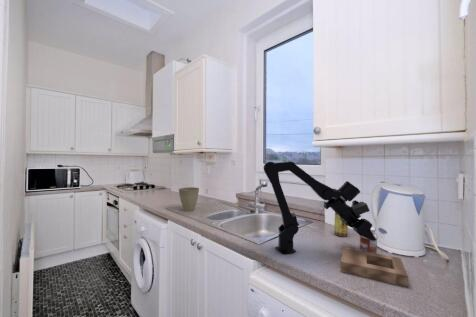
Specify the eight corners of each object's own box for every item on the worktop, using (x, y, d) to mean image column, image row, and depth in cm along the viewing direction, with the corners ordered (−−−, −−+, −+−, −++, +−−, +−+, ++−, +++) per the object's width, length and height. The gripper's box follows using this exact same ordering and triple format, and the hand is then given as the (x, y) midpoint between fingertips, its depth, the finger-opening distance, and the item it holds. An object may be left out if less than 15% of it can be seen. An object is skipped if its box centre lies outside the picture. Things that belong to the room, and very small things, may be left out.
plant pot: (186, 206, 174) (186, 186, 173) (202, 208, 168) (202, 188, 168) (174, 211, 160) (174, 189, 160) (191, 213, 154) (191, 190, 154)
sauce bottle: (343, 238, 110) (344, 198, 109) (331, 234, 115) (332, 196, 114) (350, 235, 113) (350, 197, 113) (338, 231, 119) (339, 195, 118)
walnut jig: (340, 271, 78) (340, 261, 78) (343, 255, 90) (343, 247, 90) (407, 287, 68) (407, 276, 68) (400, 267, 81) (400, 258, 81)
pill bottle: (356, 251, 94) (356, 225, 94) (369, 250, 95) (370, 225, 95) (366, 257, 88) (366, 230, 88) (380, 257, 89) (380, 230, 89)
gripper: (367, 200, 83) (397, 230, 82) (347, 192, 101) (372, 216, 100) (345, 220, 83) (375, 250, 82) (329, 208, 102) (353, 233, 101)
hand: (369, 235), depth 92 cm, fingers open, 9 cm apart
